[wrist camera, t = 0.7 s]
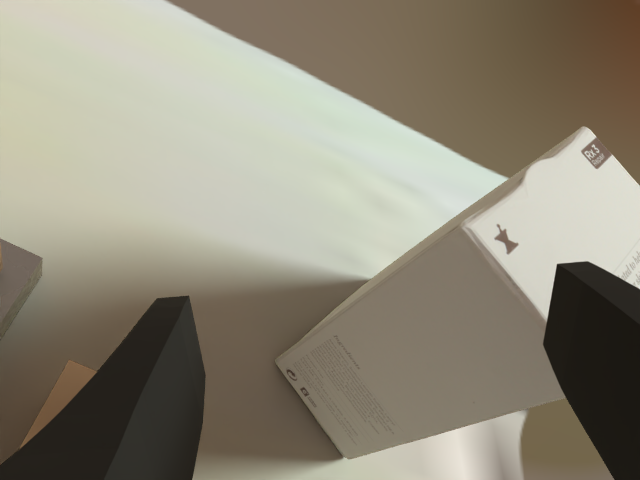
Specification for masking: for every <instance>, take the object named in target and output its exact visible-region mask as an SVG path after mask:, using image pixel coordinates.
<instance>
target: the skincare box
mask: <svg viewBox="0 0 640 480" xmlns="http://www.w3.org/2000/svg"><path fill="white" fill-rule="evenodd" d="M583 261H588V262H590V263H593V264H595V265H597V266H599V267H601V268H603V269H605V270H606V271H608V272H610V273H612V274H614V275H616V276H617V277H619V278H621V279H623V280H625V281H626V282H628V283H630V284H632V285H633V286H635V287H637V288H639V289H640V186H639V185H638V184H637V182H636V181H635V180H634V179H633V178H632V177H631V176H630V175H629V173H628V172H627V171H626V170H625V169H624V168H623V166H622V165H621V164H620V163H619V162H618V161H617V160H616V159H615V157H614V156H613V155H612V154H611V153H610V152H609V151H608V150H607V149H606V148H605V146H604V145H603V144H602V143H601V142H600V141H599V139H598V138H597V137H596V136H595V135H594V134H593V133H592V131H591V130H589V129H588V128H586V127H581V128H580V129H579V130H577V131H576V132H575V133H573V134H572V135H571V136H569V137H568V138H566V139H565V140H563V141H562V142H561V143H559V144H558V145H556V146H555V147H553V148H552V149H551V150H549V151H548V152H546V153H545V154H544V155H542V156H541V157H539V158H538V159H537V160H535V161H534V162H533V163H531V164H529V165H528V166H527V167H525V168H524V169H522V170H521V171H520V172H518V173H517V174H515V175H514V176H512V177H511V178H510V179H508V180H507V181H505V182H504V183H502V184H501V185H500V186H498V187H497V188H495V189H494V190H492V191H491V192H490V193H488V194H487V195H485V196H484V197H482V198H481V199H480V200H478V201H477V202H475V203H474V204H472V205H471V206H470V207H468V208H467V209H465V210H464V211H462V212H461V213H460V214H458V215H457V216H456V217H454V218H453V219H451V220H450V221H449V222H447V223H446V224H444V225H443V226H442V227H440V228H439V229H438V230H436V231H435V232H434V233H432V234H431V235H429V236H428V237H427V238H425V239H424V240H423V241H421V242H420V243H419V244H417V245H416V246H415V247H413V248H412V249H410V250H409V251H408V252H406V253H405V254H404V255H402V256H401V257H400V258H398V259H397V260H396V261H394V262H393V263H392V264H390V265H389V266H388V267H386V268H385V269H384V270H382V271H381V272H380V273H378V274H377V275H376V276H374V277H373V278H372V279H370V280H369V281H368V282H367V283H365V284H364V285H363V286H361V287H360V288H359V289H358V290H357V291H355V292H354V293H353V294H352V295H351V296H349V297H348V298H347V299H346V300H345V301H343V302H342V303H341V304H340V305H339V306H338V307H337V308H335V309H334V310H333V311H332V312H331V313H330V314H329V315H327V316H326V317H325V318H324V319H323V320H322V321H320V322H319V323H318V324H317V325H316V326H315V327H314V328H313V329H311V330H310V331H309V332H308V333H307V334H306V335H305V336H304V337H303V338H302V339H301V340H300V341H299V342H297V343H296V344H295V345H293V346H292V347H291V348H289V349H288V350H287V351H286V352H284V353H283V354H281V355H280V356H279V357H278V358H276V359H275V362H276V364H277V366H278V367H279V369H280V370H281V371H282V373H283V374H284V376H285V377H286V378H287V380H288V381H289V382H290V384H291V385H292V386H293V387H294V389H295V390H296V392H297V393H298V394H299V396H300V397H301V398H302V400H303V401H304V403H305V404H306V406H307V407H308V408H309V410H310V411H311V412H312V414H313V415H314V417H315V418H316V420H317V421H318V423H319V424H320V425H321V427H322V428H323V430H324V431H325V432H326V434H327V435H328V436H329V438H330V439H331V441H332V442H333V443H334V445H335V446H336V447H337V449H338V450H339V452H340V453H341V454H342V455H343V457H345V458H347V459H353V458H357V457H360V456H363V455H367V454H370V453H374V452H377V451H381V450H384V449H388V448H391V447H395V446H398V445H402V444H406V443H409V442H413V441H416V440H420V439H424V438H427V437H431V436H434V435H438V434H441V433H444V432H448V431H451V430H455V429H458V428H462V427H465V426H468V425H472V424H475V423H479V422H482V421H486V420H489V419H493V418H496V417H499V416H503V415H506V414H510V413H514V412H517V411H521V410H524V409H528V408H531V407H535V406H538V405H542V404H545V403H549V402H552V401H556V400H560V399H563V398H566V397H565V395H564V393H563V391H562V389H561V387H560V385H559V383H558V380H557V378H556V376H555V374H554V371H553V369H552V366H551V364H550V361H549V359H548V356H547V354H546V351H545V349H544V346H543V340H544V335H545V329H546V323H547V318H548V312H549V306H550V301H551V295H552V289H553V284H554V278H555V272H556V266H557V264H560V263H572V262H583Z"/></svg>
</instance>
